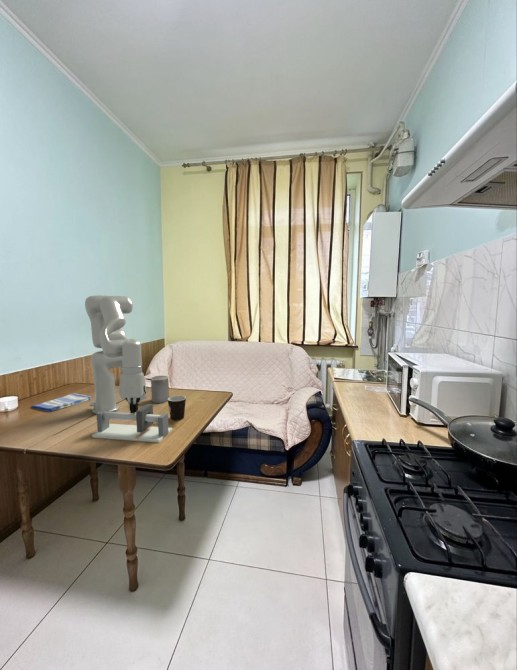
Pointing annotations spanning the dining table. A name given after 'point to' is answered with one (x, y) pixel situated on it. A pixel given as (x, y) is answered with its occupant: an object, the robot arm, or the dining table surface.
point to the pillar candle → (160, 389)
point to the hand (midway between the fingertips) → (134, 411)
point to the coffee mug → (177, 407)
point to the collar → (143, 417)
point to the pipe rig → (131, 427)
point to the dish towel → (61, 402)
